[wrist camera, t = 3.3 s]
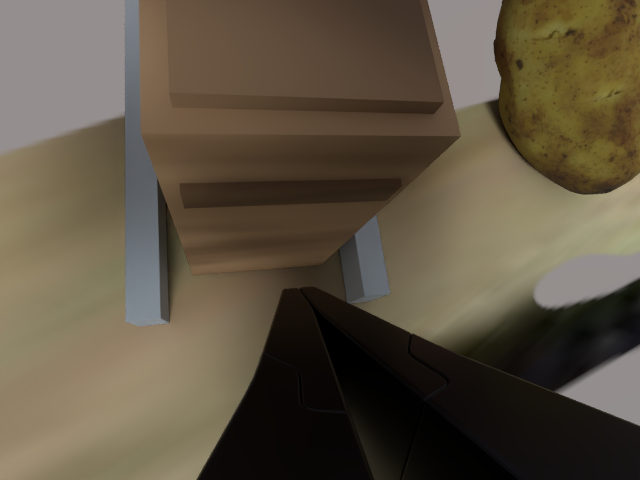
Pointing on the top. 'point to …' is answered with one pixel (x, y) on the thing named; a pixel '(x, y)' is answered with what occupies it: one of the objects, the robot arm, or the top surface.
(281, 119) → the crate
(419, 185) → the top surface
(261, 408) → the robot arm
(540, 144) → the potato
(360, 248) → the blue-gray angular pronged part
